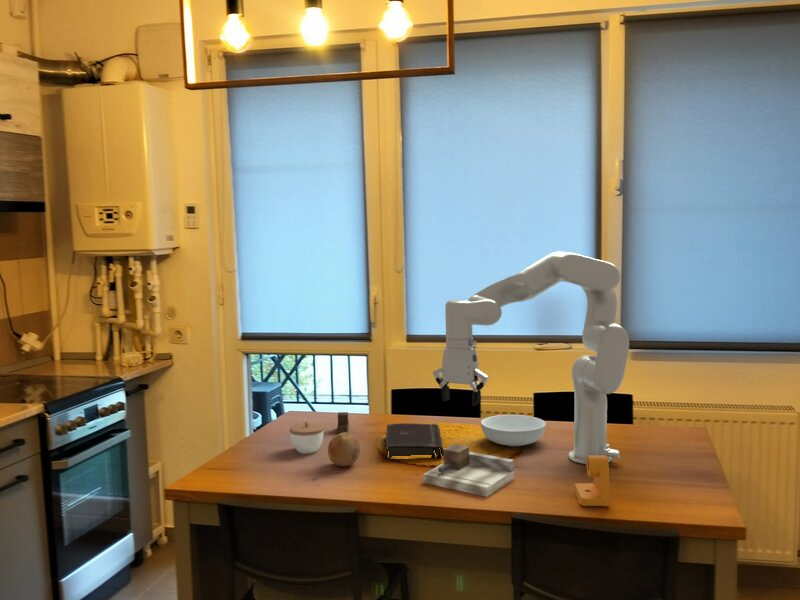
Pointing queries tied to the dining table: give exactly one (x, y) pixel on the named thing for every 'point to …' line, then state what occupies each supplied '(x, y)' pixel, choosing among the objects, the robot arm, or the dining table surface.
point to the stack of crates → (343, 422)
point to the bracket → (595, 483)
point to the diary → (413, 439)
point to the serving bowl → (513, 429)
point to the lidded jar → (306, 437)
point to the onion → (344, 449)
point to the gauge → (455, 457)
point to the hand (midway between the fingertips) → (460, 402)
